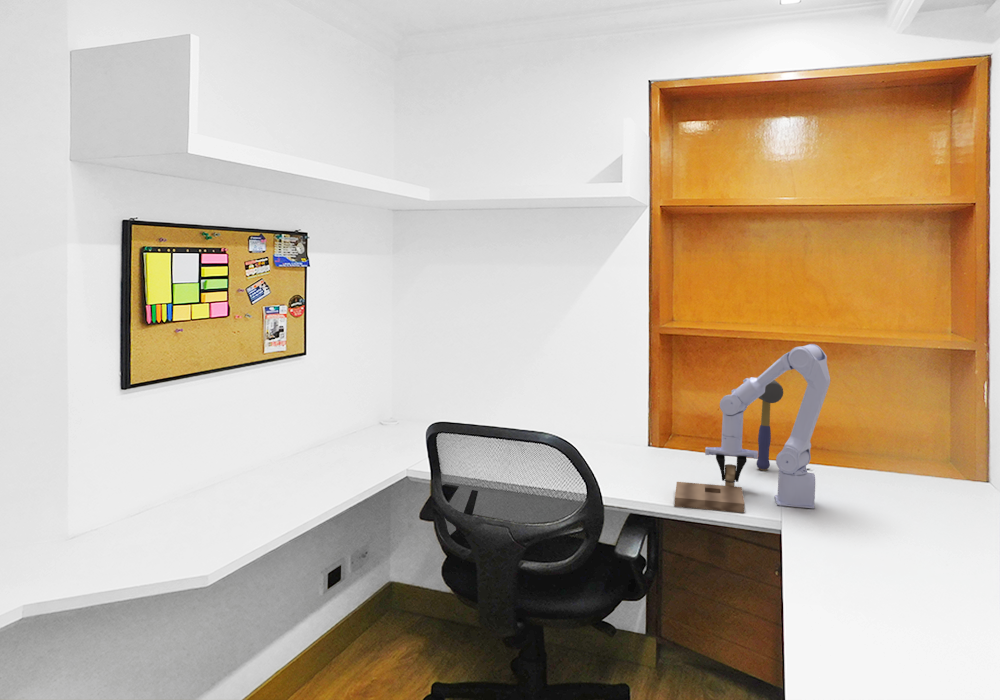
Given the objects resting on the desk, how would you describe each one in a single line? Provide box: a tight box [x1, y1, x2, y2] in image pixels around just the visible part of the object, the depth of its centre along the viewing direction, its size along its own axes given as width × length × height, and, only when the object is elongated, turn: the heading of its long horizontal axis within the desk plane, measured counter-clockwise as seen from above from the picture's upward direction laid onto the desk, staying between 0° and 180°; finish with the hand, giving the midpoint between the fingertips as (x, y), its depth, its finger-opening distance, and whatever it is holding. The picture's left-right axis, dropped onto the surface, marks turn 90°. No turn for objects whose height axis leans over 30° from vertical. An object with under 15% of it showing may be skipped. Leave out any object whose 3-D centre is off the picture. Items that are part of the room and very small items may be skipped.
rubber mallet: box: [756, 376, 784, 471], centre depth 230 cm, size 12×8×30 cm, turn 176°
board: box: [674, 481, 745, 514], centre depth 200 cm, size 18×15×2 cm
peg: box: [724, 463, 737, 487], centre depth 211 cm, size 3×3×7 cm
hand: (729, 480), depth 211 cm, fingers closed on peg, 3 cm apart
